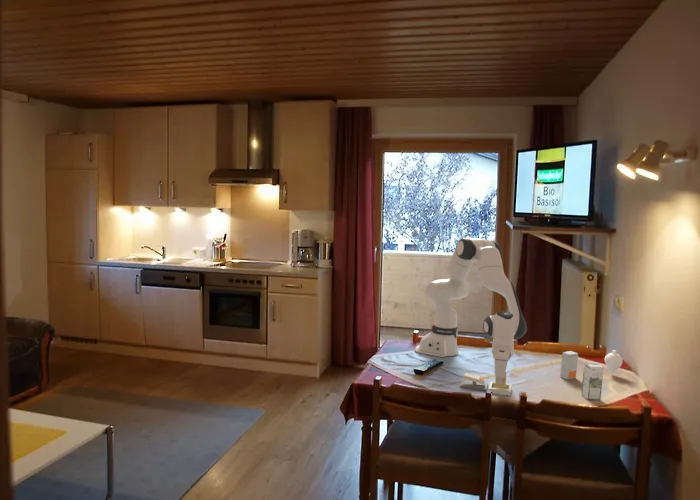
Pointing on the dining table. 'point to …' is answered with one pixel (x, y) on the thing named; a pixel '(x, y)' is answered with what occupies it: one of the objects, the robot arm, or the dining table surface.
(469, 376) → the rocker
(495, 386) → the lockout cap
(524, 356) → the dining table surface
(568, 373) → the skincare box
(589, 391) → the syrup box
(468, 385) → the switch base
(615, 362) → the spinning top
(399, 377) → the dining table surface
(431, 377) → the dining table surface
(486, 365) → the dining table surface
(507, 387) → the socket
